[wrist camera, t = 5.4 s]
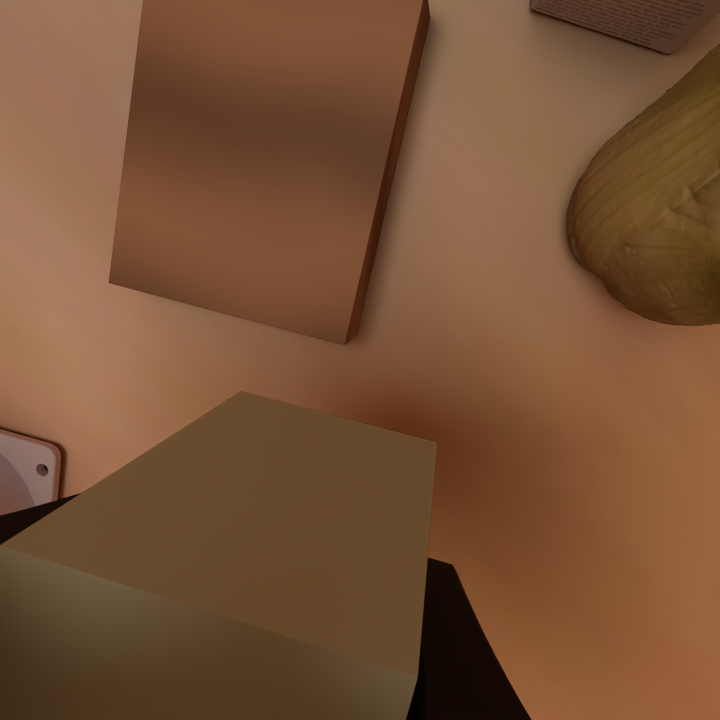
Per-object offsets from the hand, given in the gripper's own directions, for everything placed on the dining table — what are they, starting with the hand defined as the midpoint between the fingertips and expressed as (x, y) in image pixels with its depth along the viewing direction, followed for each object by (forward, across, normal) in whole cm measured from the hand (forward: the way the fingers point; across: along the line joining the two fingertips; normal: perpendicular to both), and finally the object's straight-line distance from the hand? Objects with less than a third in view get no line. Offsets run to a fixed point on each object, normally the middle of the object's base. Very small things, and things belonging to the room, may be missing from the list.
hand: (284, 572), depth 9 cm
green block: (+2, 0, 0) cm, 2 cm away
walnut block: (+11, +5, -7) cm, 14 cm away
